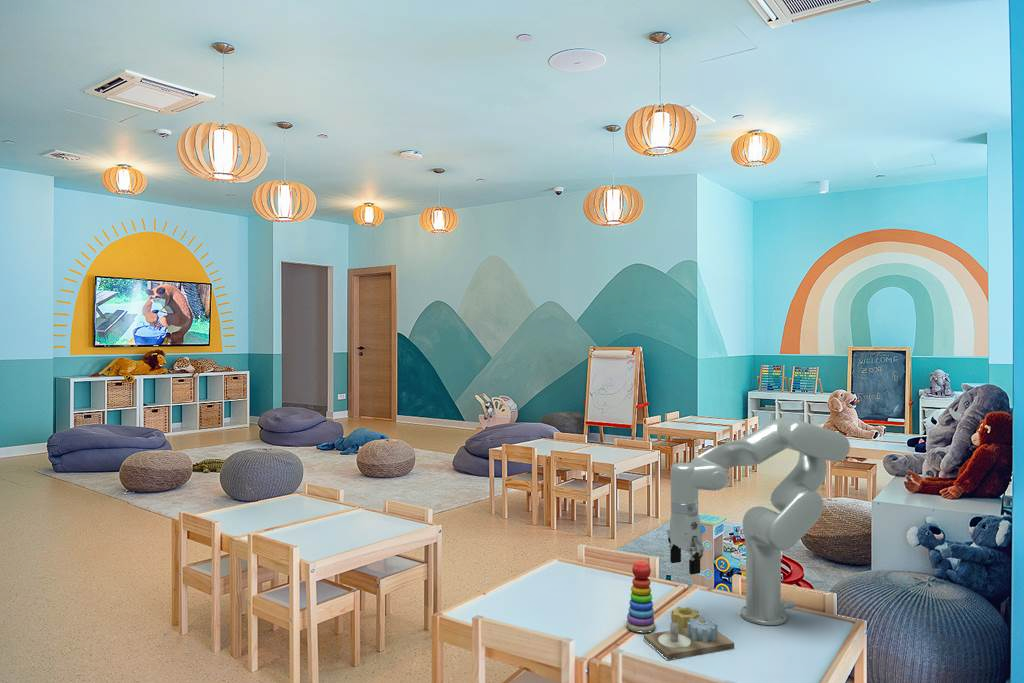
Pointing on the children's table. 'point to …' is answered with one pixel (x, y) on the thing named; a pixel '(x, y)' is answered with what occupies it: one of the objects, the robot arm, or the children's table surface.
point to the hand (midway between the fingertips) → (685, 567)
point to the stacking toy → (641, 600)
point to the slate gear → (702, 630)
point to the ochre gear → (683, 616)
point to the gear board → (685, 643)
